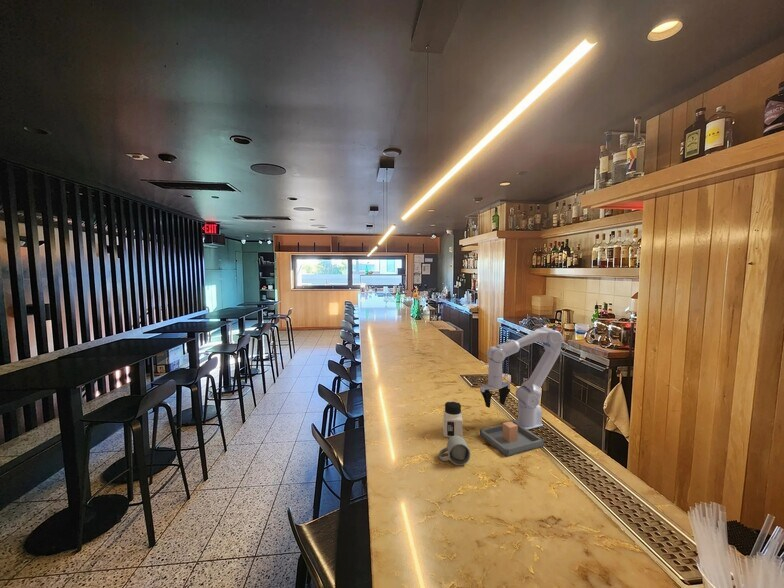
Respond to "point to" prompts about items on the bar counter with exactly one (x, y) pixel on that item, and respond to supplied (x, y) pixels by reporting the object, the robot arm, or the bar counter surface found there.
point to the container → (452, 419)
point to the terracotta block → (510, 431)
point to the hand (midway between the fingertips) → (495, 405)
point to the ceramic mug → (456, 451)
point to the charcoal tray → (511, 448)
